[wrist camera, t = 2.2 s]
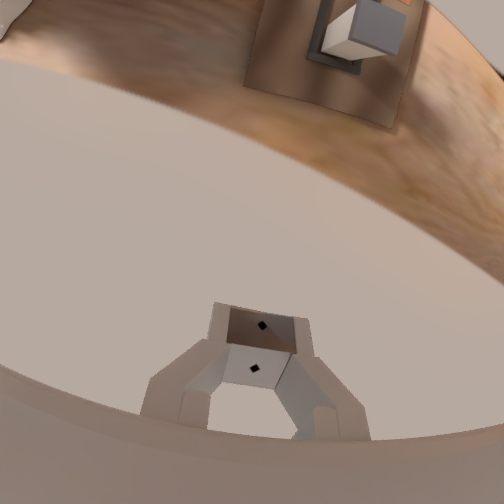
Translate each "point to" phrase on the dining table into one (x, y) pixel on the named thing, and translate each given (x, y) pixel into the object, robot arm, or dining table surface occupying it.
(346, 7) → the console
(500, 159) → the dining table surface
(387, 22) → the fader tab
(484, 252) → the dining table surface
